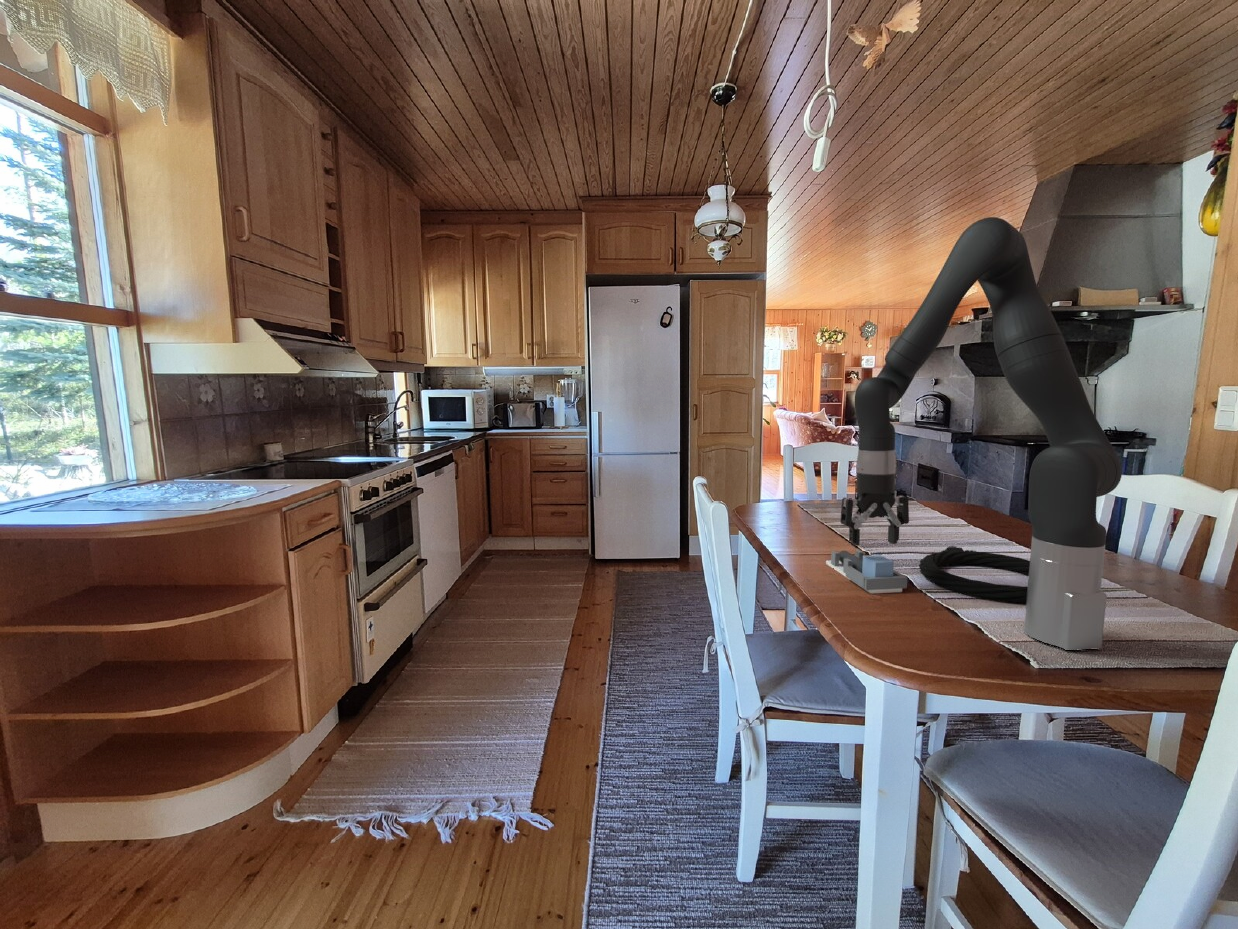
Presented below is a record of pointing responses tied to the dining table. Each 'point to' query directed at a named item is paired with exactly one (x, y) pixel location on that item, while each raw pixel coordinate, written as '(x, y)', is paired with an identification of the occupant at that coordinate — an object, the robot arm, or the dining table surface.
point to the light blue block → (869, 564)
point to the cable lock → (974, 587)
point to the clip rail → (868, 583)
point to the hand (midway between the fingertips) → (873, 544)
